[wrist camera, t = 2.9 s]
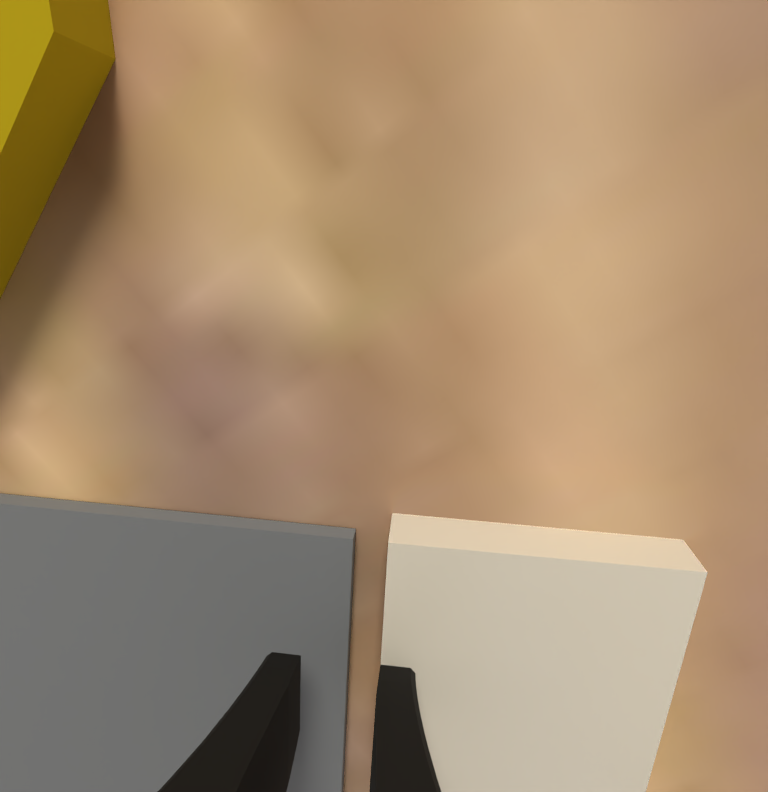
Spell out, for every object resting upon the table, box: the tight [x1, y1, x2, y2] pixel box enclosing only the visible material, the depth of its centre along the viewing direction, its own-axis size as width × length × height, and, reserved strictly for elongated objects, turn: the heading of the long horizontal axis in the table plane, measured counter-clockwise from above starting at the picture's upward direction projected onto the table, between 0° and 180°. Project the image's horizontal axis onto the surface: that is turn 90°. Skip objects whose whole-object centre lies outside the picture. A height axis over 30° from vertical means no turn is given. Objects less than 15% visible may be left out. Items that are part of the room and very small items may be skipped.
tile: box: [381, 513, 708, 792], centre depth 13 cm, size 7×2×6 cm
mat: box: [0, 493, 356, 792], centre depth 15 cm, size 16×16×1 cm
